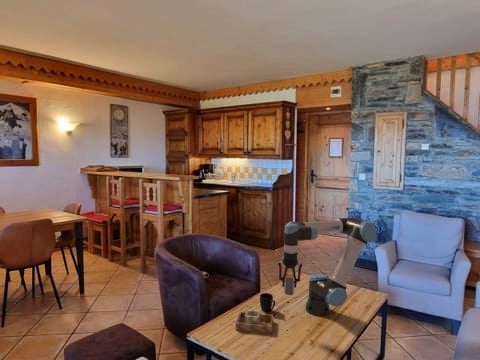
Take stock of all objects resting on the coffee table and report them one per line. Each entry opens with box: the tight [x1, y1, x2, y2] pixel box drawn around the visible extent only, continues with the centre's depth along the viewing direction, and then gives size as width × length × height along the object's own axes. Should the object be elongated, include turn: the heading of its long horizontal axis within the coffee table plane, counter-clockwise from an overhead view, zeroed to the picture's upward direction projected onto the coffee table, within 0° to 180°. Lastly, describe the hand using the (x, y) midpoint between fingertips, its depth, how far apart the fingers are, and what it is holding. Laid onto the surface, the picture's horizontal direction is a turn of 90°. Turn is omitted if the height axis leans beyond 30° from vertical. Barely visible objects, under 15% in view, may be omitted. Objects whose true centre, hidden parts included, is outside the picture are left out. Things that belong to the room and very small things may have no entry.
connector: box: [284, 272, 294, 296], centre depth 182 cm, size 4×4×11 cm
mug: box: [259, 292, 276, 313], centre depth 204 cm, size 8×12×10 cm
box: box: [235, 309, 274, 335], centre depth 186 cm, size 20×14×7 cm
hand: (288, 292), depth 183 cm, fingers closed on connector, 4 cm apart
